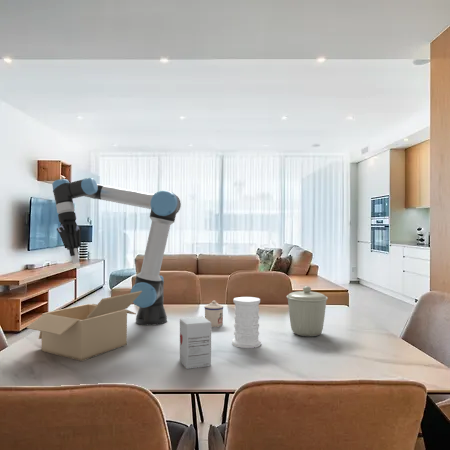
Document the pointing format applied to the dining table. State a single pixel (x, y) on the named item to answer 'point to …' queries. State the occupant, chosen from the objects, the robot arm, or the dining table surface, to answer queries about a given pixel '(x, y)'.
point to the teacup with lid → (214, 314)
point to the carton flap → (114, 304)
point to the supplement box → (195, 342)
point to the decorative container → (246, 322)
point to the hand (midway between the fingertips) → (76, 262)
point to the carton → (81, 332)
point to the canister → (307, 312)
